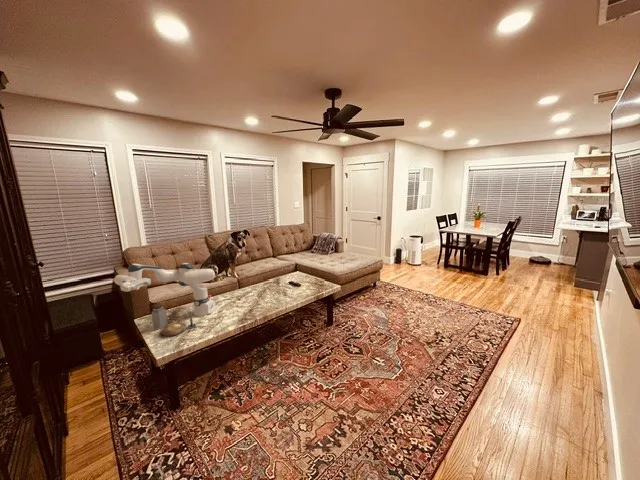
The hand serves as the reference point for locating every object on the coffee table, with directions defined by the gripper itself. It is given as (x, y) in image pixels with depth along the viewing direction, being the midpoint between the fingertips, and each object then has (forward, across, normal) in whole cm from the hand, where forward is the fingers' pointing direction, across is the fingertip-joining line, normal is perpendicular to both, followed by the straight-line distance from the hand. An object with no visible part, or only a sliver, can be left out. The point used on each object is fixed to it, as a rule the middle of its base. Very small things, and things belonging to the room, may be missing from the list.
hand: (144, 286), depth 205 cm
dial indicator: (+41, -5, -27) cm, 50 cm away
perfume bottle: (+17, +2, -30) cm, 35 cm away
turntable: (+33, +4, -28) cm, 44 cm away
